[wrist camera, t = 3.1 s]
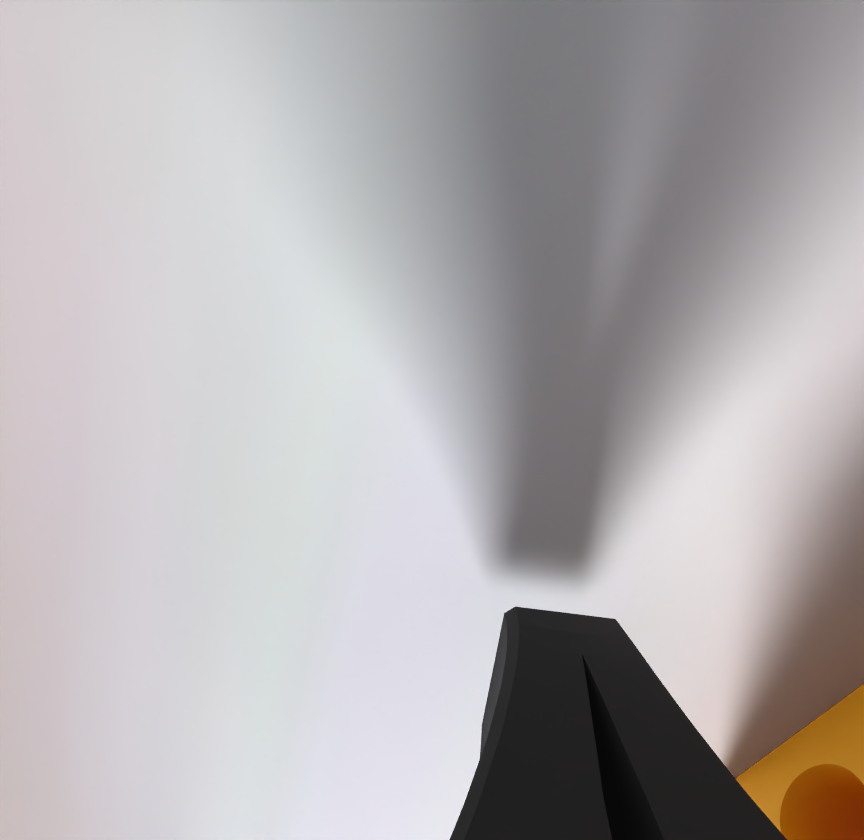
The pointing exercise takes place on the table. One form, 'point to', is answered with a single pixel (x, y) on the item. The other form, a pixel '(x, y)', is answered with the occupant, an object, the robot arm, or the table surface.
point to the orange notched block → (816, 777)
